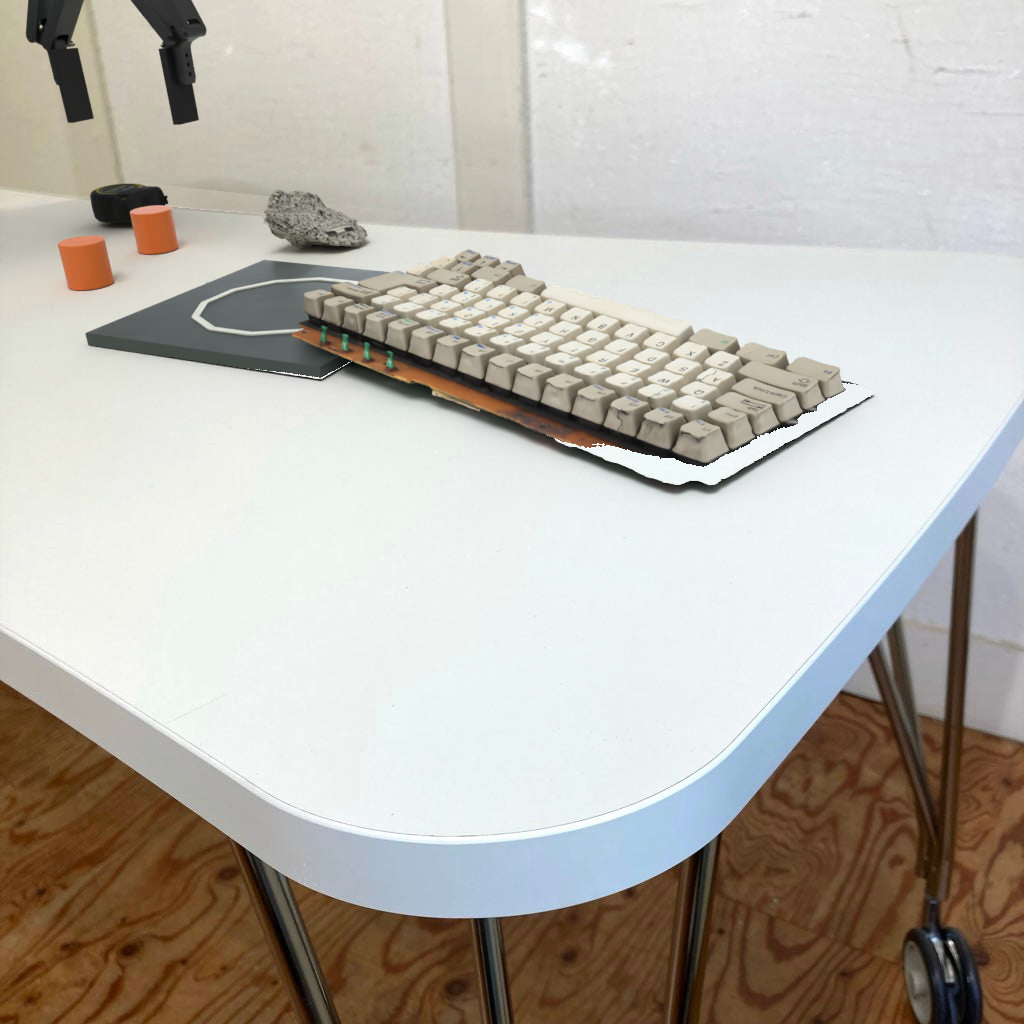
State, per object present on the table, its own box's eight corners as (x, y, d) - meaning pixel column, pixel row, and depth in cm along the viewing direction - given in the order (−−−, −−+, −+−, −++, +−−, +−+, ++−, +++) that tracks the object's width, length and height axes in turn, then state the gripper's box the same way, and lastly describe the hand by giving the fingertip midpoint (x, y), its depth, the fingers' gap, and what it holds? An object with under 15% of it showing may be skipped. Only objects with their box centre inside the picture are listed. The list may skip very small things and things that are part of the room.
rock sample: (345, 219, 99) (297, 149, 100) (289, 273, 101) (243, 204, 103) (398, 242, 108) (354, 178, 110) (346, 291, 111) (303, 227, 113)
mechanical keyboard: (875, 395, 67) (882, 343, 65) (696, 505, 55) (700, 445, 53) (461, 281, 90) (459, 241, 88) (273, 341, 78) (267, 296, 76)
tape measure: (130, 231, 116) (122, 196, 114) (82, 227, 119) (74, 193, 117) (171, 217, 122) (165, 183, 120) (125, 213, 124) (118, 180, 122)
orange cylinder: (58, 288, 97) (47, 244, 95) (91, 276, 100) (81, 234, 98) (90, 292, 95) (80, 247, 93) (123, 280, 98) (113, 237, 96)
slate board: (87, 345, 82) (84, 331, 82) (265, 270, 99) (263, 258, 99) (321, 380, 73) (319, 365, 73) (472, 291, 90) (471, 278, 90)
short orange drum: (129, 252, 107) (121, 212, 106) (157, 243, 111) (149, 204, 109) (159, 255, 106) (151, 215, 104) (187, 246, 109) (179, 206, 107)
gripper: (217, -147, 90) (259, 116, 100) (12, -123, 101) (68, 114, 111) (155, -151, 84) (206, 130, 94) (-57, -125, 95) (10, 125, 105)
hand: (132, 122), depth 102 cm, fingers open, 13 cm apart
